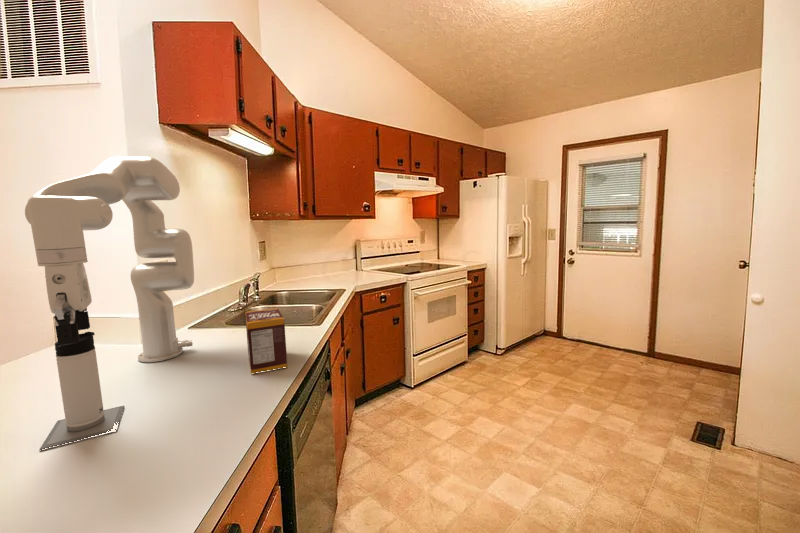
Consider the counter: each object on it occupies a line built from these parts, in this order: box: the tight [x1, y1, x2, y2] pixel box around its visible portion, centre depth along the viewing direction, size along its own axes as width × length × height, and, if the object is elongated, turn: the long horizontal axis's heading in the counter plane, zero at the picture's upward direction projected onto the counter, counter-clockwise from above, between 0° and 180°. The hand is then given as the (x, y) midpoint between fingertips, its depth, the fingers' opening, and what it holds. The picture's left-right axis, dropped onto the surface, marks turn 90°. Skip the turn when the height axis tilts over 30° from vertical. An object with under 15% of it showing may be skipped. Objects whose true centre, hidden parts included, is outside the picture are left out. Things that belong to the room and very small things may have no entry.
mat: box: [39, 405, 125, 451], centre depth 78 cm, size 12×12×1 cm
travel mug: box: [54, 331, 105, 432], centre depth 77 cm, size 6×7×20 cm
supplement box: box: [244, 308, 288, 374], centre depth 111 cm, size 10×15×16 cm
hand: (75, 336), depth 76 cm, fingers open, 9 cm apart
